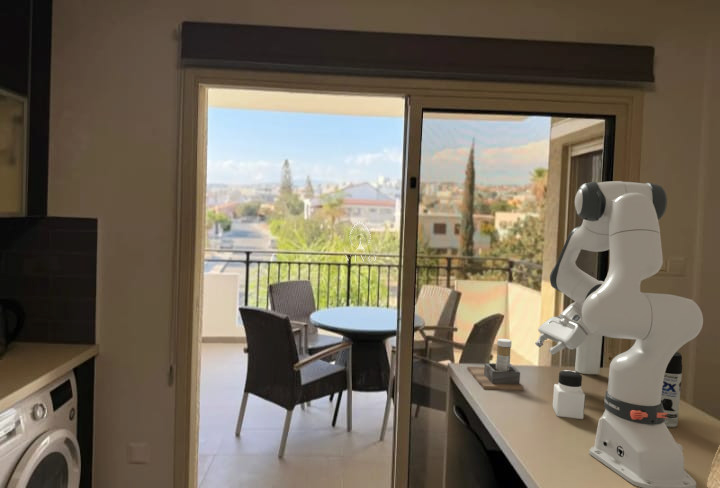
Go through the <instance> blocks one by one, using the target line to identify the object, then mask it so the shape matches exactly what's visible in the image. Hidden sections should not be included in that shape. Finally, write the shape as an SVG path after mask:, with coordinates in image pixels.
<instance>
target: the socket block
mask: <svg viewBox="0 0 720 488" xmlns="http://www.w3.org/2000/svg"><path fill="white" fill-rule="evenodd" d="M466 369H467V371H468V372H469V373H470V375H471V376H472V377H473V378H474V379H475V381H476V382H477V383H478V384H479V385H480V386H481V388H482V389H483V390H502V391H504V390H507V391H524V389H525V388H524V386H523V385H522V384H521V383H520V379H521V372H520V371H519V370H518V369H517V368H516V367H515V366H514V365H512V364H511V363H510V368H509V371H496V362H495V363H494V362H493V363H489V362H488V363H487V362H485V363H484V366H467V367H466Z"/></svg>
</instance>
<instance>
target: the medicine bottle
mask: <svg viewBox="0 0 720 488" xmlns="http://www.w3.org/2000/svg"><path fill="white" fill-rule="evenodd" d="M582 381H583V375H582V373H579V372H577V371H575V370H567V369H564V370H561V371H559V373H558V383H554V385H553V393H552V394H553V397H552V408H553V410H554V413H555V415H556V416H557V417H561V418H568V419H569V418H570V419H577V420H578V419H579V420H583V419H584V417H585V404H586V394H585V392H584V391H583V390H582V385H583V384H582Z"/></svg>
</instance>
